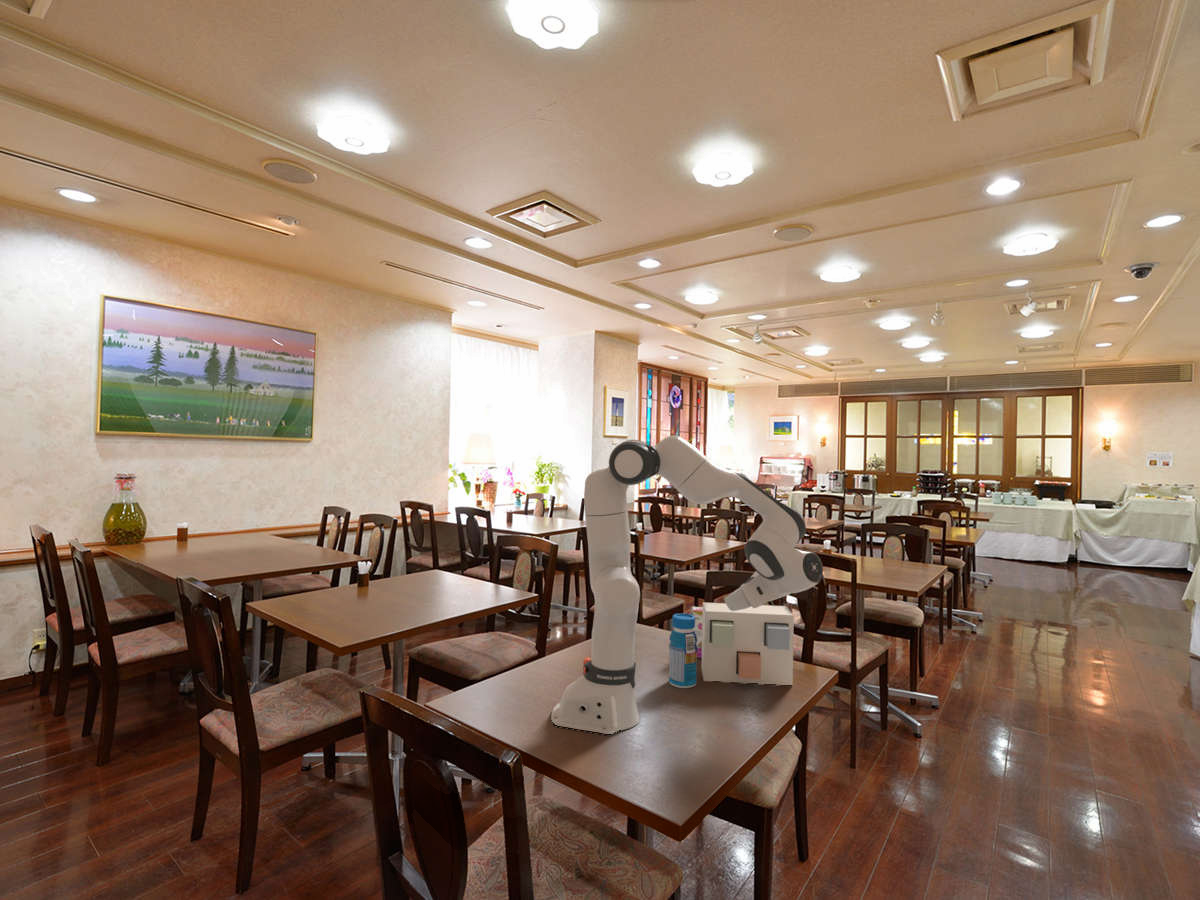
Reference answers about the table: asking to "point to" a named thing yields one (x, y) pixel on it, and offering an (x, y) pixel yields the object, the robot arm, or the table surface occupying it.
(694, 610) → the candy bar box
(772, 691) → the table surface
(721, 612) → the button panel
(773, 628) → the slate-blue button
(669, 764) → the table surface
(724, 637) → the sage-green button
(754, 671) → the terracotta button
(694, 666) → the beverage bottle
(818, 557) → the robot arm
